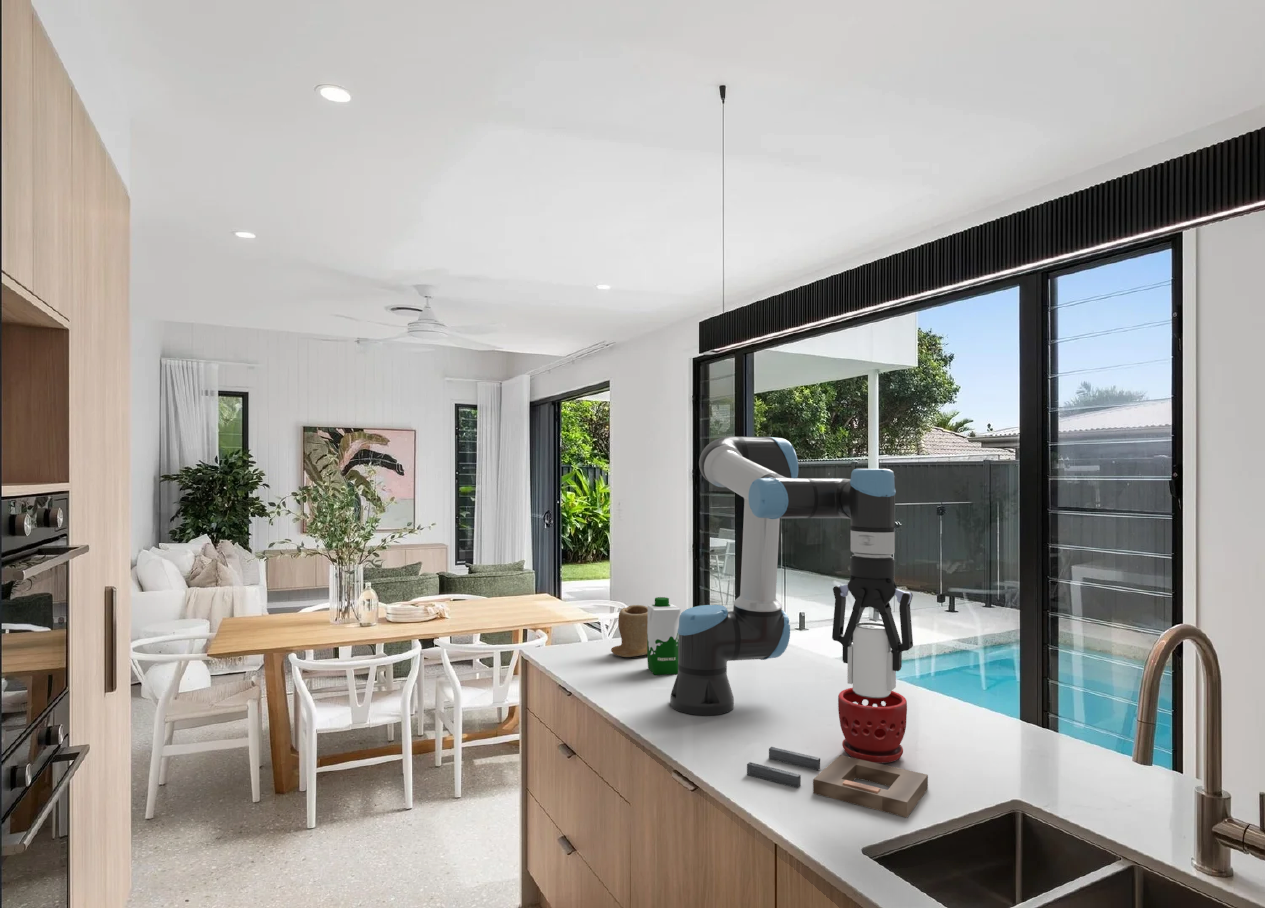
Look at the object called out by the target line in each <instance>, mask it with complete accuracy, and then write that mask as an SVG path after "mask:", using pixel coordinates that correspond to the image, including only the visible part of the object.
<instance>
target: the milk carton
mask: <svg viewBox="0 0 1265 908" xmlns="http://www.w3.org/2000/svg"><path fill="white" fill-rule="evenodd" d="M647 607H648V624H647V654H646V657H647V669H648V670H649V671H650V672H651V673H652V674H653V675H654V676H660V675H664V676H665V675H677V674H678V627H679V617H680V615H681V613H682V612H681V611H682V610H681V608H679V606H678V605H675V604H672V603H671V604H670V598H669V597H665V596H664V597H663V596H662V597H661V596H659V597H658V596H656V597H655V598H654V604H647Z"/></svg>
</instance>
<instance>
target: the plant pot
mask: <svg viewBox="0 0 1265 908" xmlns="http://www.w3.org/2000/svg"><path fill="white" fill-rule="evenodd" d="M837 700H838V701H837V702H838V703H837V705H838V706H837V709H838V718H839V725H840V728H841V731H842V735H843V736H844V739H843V740H842V743H841V744H842V748H843V750H844V751H845V753H846V754H848V755H849V757H852V758H856V759H861V760H865V761H869V762H874V763H878V764H887V763H893V762H895V761H897V760H899V759H900V758H902V756H903V753H904V748H903V746H902V745H901V743H902V742H903V739H904V736H905V734H906V733H905V732H906V728H907V717H908V716H907V714H908V705H907V704H908V703H907V699H906V698H905V696H903V695H902V694H900V693H898V692H896V691H894V690H892V691H891V694H889V696H888V697H885V698H868V697H863V696H860V695H857V694H856V693H855V692H854V691H853V687H850V688H845V689H843V690H841V691H840V692H839V693H838V697H837ZM863 701H867V704H866V705H864V704H863ZM882 702H884V703H885V705H883V704H882ZM874 705H876V706H874Z"/></svg>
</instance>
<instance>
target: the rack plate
mask: <svg viewBox="0 0 1265 908" xmlns="http://www.w3.org/2000/svg"><path fill="white" fill-rule="evenodd" d="M928 778H929V774H927V773H922V772H918V771H913V770H910V769H905V768H901V767H896V766H891V765H886V764H884V763H874V762H869V761H865V760H861V759H856V758H854V757H852V756H846V755H842V754H840V755H838V756H837V757H836V758H835V759H834V760H832V762H830V763H829V764H828V765H827V766H826V767H825V768H823V770H821V771H820V772H819V773H818V774H817V775H816V776H815V777H814V778H812V782H813V783H812V794H814V795H817V796H818V795H819V796H822V797H826V798H829V799H834V800H837V801H841V802H844V803H848V804H852V805H857V806H859V807H865V808H868V809H873V810H876V811H880V812H884V813H888V814H891V815H895V816H899V817H904V818H908V817H910V814H911V813H912V811H913V810H914V809H915V807H916V806H917V805H918V803H919V802H920V800H921V799H922V798H923V796H924V795H925V794H926V792H927V791H928V789H929V784H928V783H929V779H928ZM856 779H858V780H860V781H861V780H862V781H866V782H870V783H872V784H873V783H874V784H878V785H881V786H882V785H883V786H887V787H889V788H888V789H885V788H881V787H877V786H873V785H868V784H865V783H861V782H855V780H856Z"/></svg>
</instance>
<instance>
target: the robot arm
mask: <svg viewBox="0 0 1265 908" xmlns="http://www.w3.org/2000/svg"><path fill="white" fill-rule="evenodd" d="M698 466H699V470H700V473H701V476H703V478H704V479H705V481H707V482H708V483H710V484H711V485H713V486H715V487H719V488H726V489H729V490H730V491H732V492H733V493H736V494H737V495H739V496H740V497H742V498H743V500H744V506H743V528H742V547H741V548H742V549H741V550H742V551H741V571H740V572H741V574H740V590H739V591H740V592H739V596H738V597H737V598H735V600H734V601H733V608H732V611H731V610H730V611H729V610H728V609H727V607H726V606H725V605H720V604H712V605H711V604H705V605H703V604H702V605H697V606H693V607H690V608H686V609H685V610H683V611H682V612H680V617H679V627H678V674H676V678H675V681H674V683H673V687H672V690H671V693H670V698H669V699H670V703H669V704H670V705H669V706H670V707H671V708H672V709H674V710H675V711H678V712H680V713H684V714H690V715H695V716H696V715H697V716H718V715H723V714H727V713H730V712H731V711H732V710H734V708H735V707H734V706H735V705H734V704H735V703H734V702H735V698H734V694H733V690H732V688H731V684H730V681H729V678H728V673H727V672H728V670H727V669H728V668H727V667H728V666H727V665H728V662H730V661H732V662H733V661H734V662H735V661H750V660H751V661H752V660H753V661H755V660H761V661H763V660H764V661H765V660H769V659H774V658H775V659H776V658H779V657H780V656H782V655H783V654H784V653H785V652H786V650H787V648H788V646H789V643H790V639H791V638H790V637H791V625H790V618H789V616H788V614H787V613H786V611H785V610H783V609H782V607H783V606H782V603H781V602H780V601H778V600H777V582H778V581H777V580H778V558H779V538H780V522H781V521H780V519H849V520H850V552H851V553H853V554H852V555H851V556H850V558H849V559H850V560H849V561H850V563H849V564H850V567H849V568H850V569H849V575H850V578H849V581H848V583H847V584H843V585H842V584H839V585H835V586H833V588H832V591H833V596H834V611H833V621H832V636H831V639H832V640H833V641H834V642H835V641H836V642H838V643H840V644H841V646H842V662H843V664H847V684H848V685H853V632H854V630H855V628H856V624H857V623H861V620H862V619H861V618H862V615H863V612H864V610H865V609H866V608H872V609H875V610H877V611H878V614H879V615H880V617H881V620H882V624H884V627H885V630H886V633H887V637H888V640H889V643H890V646H891V651H890V652H887V690H889V691H894V689H896V687H897V682H896V681H897V672H899V671H901V669H902V668H903V667H902V665H903V662H902V661H903V659H902V658H903V656H902V654H903V652H905V651H906V652H908V651H909V650H911V649H912V648H913V647H914V642H913V641H914V640H913V628H912V613H911V612H912V611H911V603H912V600H913V597H914V595H913V592H911V591H904V590H901V589H899V588H898V587H897V585H896V583H895V558H894V557H893V556H892V555H894V554H895V552H896V550H895V543H896V542H895V540H896V539H895V525H896V523H895V522H896V521H895V519H896V515H895V514H896V493H897V491H896V490H897V489H896V487H895V474H894V471H893V470H891V469H889V468H855V469H853V470H852V471H851V474H850V478H843V477H838V478H837V477H831V478H811V477H810V478H806V477H805V478H799V477H798V475H799V460H798V456H797V453H796V450H795V448H794V447H793V444H791V442H790V441H789V440H787V439H785V438H783V437H772V436H734V435H733V436H732V435H729V436H723V437H720V438H719V437H718V438H717V439H714V440H713V441H711V442H709V444H707V445H706V446H705V447H704V448H703V449H702V451H701V454H700V456H699V461H698ZM849 593H850V594H851V596H852V597H853V599H854V603H853V605H852V611H851V613H850V616H849V620H848V623H847V625H846V628H845V631H844V627H845V618H846V617H845V616H846V607H847V606H846V604H847V596H848V595H849ZM894 597H896V598H897V599H896V602H897V603H898V604H899V609H898V610H899V619H900V620H899V621H900V624H899V625H900V633H901V634H899V632H898V628H897V625H896V623H895V620H894V616H893V613H892V606H891V604H890V601H891V600H893V598H894ZM900 636H901V637H900Z"/></svg>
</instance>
